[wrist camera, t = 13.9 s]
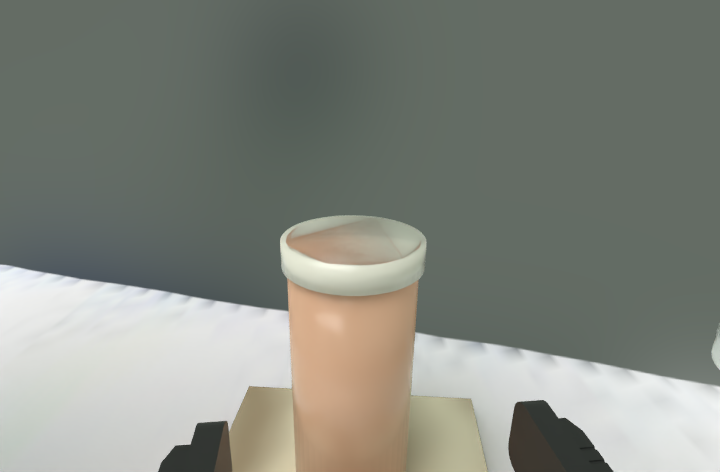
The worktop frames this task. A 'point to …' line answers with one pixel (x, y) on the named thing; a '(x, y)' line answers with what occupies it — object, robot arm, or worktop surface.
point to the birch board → (425, 436)
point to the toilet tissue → (716, 349)
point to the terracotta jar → (352, 340)
